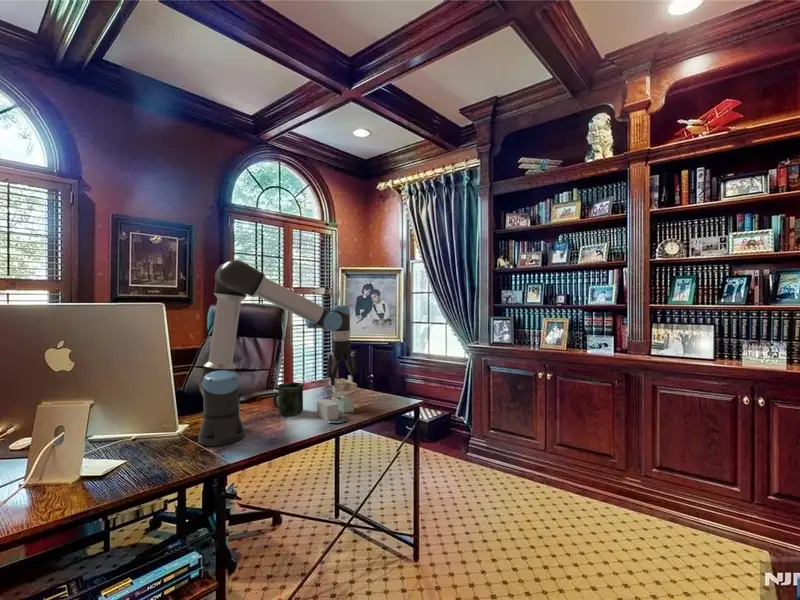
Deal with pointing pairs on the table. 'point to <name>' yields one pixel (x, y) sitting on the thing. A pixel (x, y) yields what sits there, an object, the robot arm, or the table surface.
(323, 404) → the light grey rectangular block
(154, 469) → the table surface
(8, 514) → the table surface
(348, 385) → the lid
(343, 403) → the dish
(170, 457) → the table surface
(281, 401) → the mug
